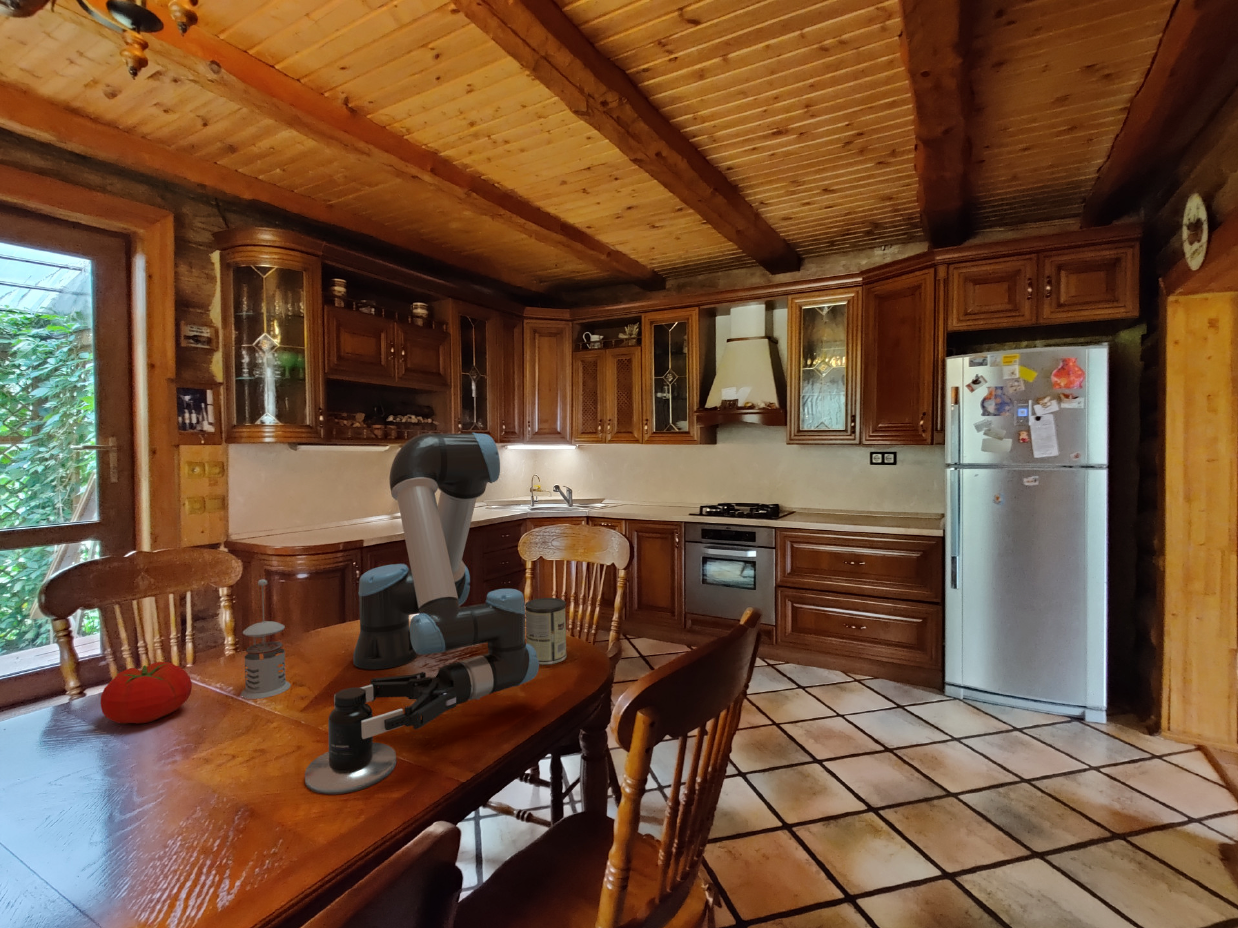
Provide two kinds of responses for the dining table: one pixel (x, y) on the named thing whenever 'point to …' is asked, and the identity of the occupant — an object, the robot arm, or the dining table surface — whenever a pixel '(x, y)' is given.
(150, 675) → the tomato
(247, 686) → the french press
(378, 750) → the hub disc
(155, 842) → the dining table surface
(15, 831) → the dining table surface
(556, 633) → the coffee can
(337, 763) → the supplement bottle
